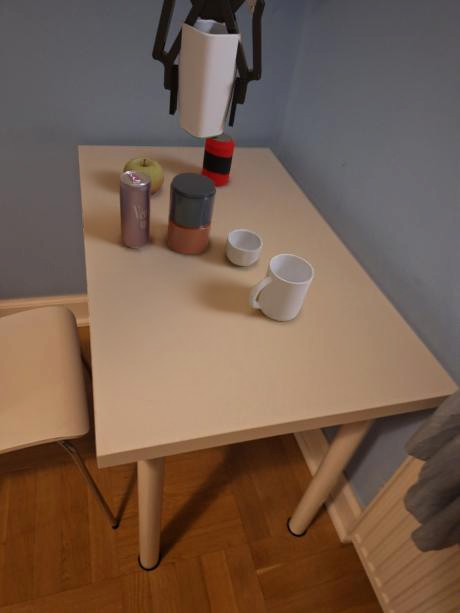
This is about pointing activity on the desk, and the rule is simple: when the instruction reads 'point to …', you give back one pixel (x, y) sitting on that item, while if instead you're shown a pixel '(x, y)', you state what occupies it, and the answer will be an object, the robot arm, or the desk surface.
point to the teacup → (243, 247)
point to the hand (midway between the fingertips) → (202, 117)
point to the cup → (206, 77)
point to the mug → (283, 287)
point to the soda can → (218, 158)
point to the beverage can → (135, 208)
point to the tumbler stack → (190, 213)
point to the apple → (147, 171)
